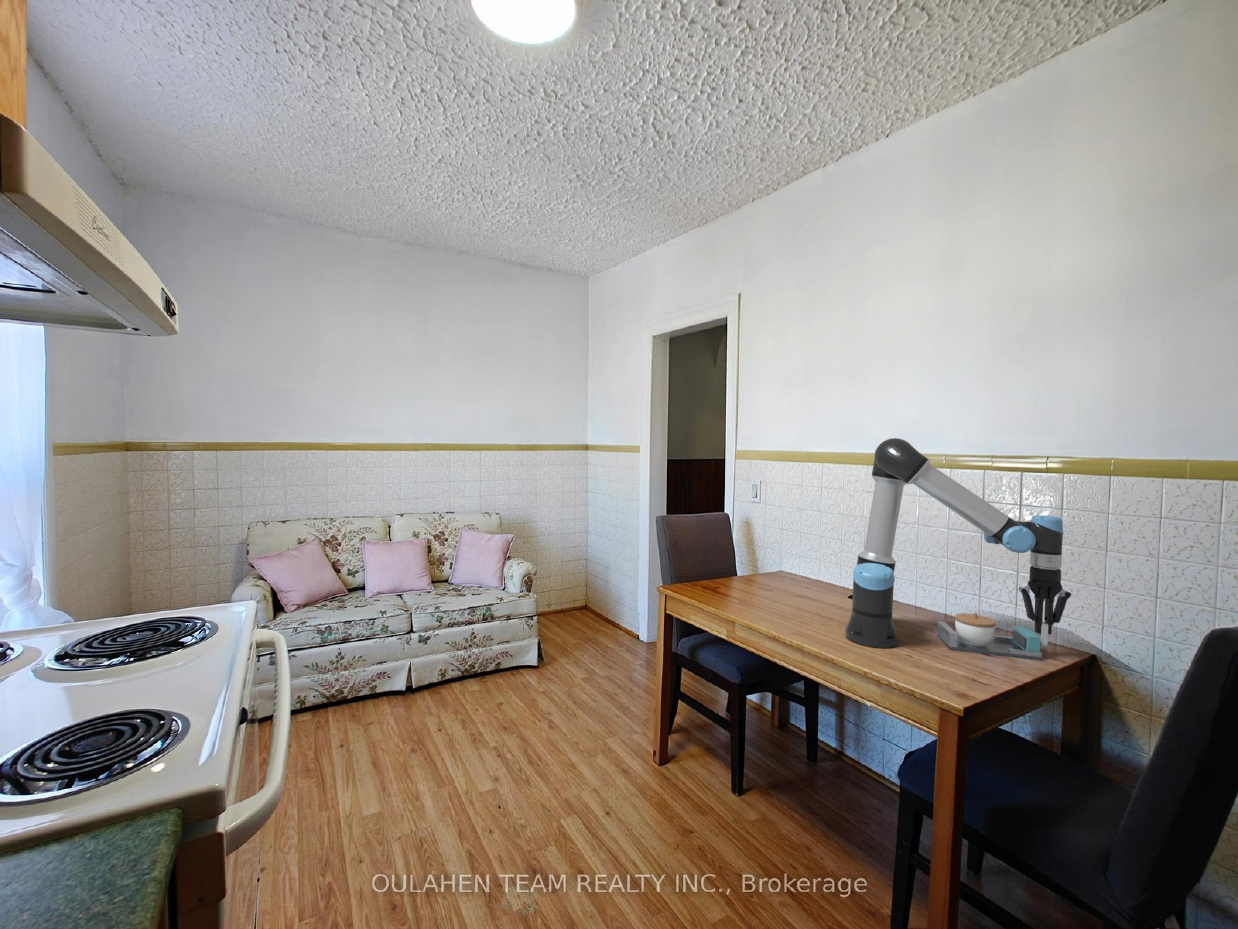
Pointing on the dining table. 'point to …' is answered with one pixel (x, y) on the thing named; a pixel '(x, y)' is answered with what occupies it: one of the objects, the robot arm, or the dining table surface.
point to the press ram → (1026, 639)
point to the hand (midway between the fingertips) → (1042, 644)
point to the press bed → (994, 647)
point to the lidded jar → (974, 628)
